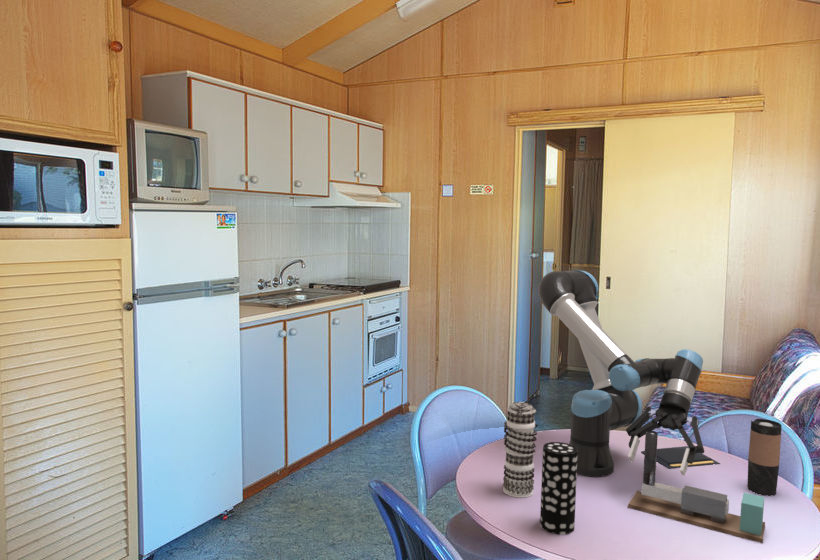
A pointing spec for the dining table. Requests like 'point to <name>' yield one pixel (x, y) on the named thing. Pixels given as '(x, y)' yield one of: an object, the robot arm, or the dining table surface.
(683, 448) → the black book
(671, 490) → the grey two-tone fixture
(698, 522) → the base board
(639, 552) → the dining table surface
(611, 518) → the dining table surface
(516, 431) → the decorative candle
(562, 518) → the white-spotted black cylinder
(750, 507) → the socket
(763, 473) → the travel mug
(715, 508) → the grey notched block
